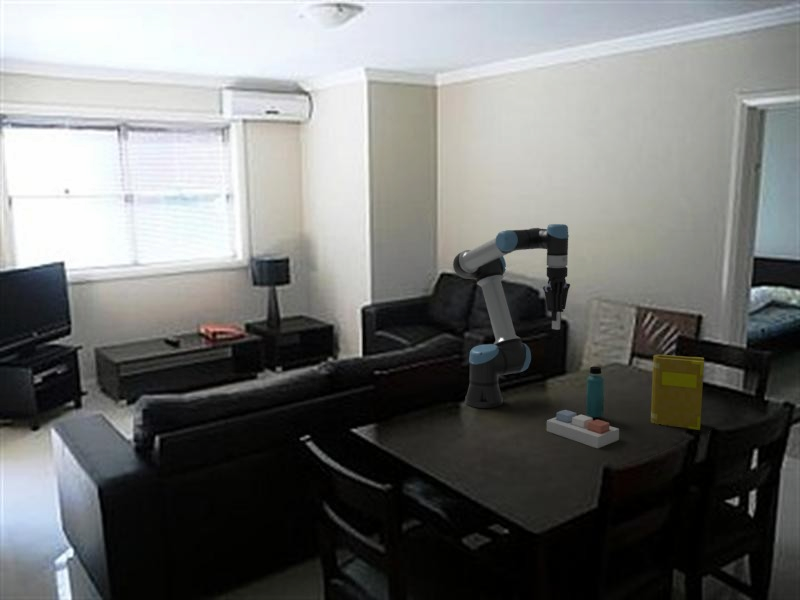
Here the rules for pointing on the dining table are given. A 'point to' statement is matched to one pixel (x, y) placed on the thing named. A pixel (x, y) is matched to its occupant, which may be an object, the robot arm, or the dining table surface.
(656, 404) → the book
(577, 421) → the white key
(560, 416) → the blue key
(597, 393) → the beverage bottle
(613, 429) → the key panel
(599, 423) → the red key
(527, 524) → the dining table surface
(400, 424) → the dining table surface
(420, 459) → the dining table surface
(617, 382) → the dining table surface
